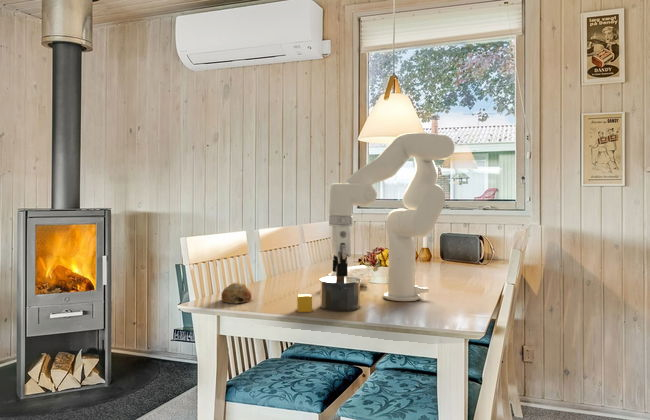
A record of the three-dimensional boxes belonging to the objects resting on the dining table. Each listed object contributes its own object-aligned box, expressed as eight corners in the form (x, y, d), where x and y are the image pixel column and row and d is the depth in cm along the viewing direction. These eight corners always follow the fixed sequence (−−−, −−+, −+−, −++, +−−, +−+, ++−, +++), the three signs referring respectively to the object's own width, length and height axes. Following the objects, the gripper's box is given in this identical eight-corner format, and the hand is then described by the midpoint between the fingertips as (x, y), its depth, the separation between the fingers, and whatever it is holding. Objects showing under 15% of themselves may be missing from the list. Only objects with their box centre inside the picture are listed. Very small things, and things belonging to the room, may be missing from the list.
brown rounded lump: (224, 314, 174) (227, 294, 171) (216, 296, 182) (219, 277, 179) (252, 311, 178) (256, 292, 175) (244, 293, 186) (247, 275, 183)
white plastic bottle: (320, 288, 203) (320, 268, 203) (358, 283, 214) (358, 264, 214) (332, 291, 197) (332, 270, 197) (371, 286, 208) (371, 266, 207)
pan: (353, 300, 180) (353, 276, 180) (364, 312, 162) (364, 285, 162) (318, 301, 178) (318, 276, 178) (324, 313, 161) (324, 286, 161)
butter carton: (310, 309, 167) (310, 294, 167) (312, 311, 163) (312, 296, 163) (297, 309, 166) (297, 294, 166) (298, 312, 163) (298, 296, 163)
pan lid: (356, 279, 178) (356, 262, 178) (364, 286, 164) (364, 268, 164) (317, 279, 176) (317, 263, 176) (322, 286, 163) (322, 269, 162)
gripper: (357, 222, 161) (356, 278, 162) (347, 220, 179) (346, 270, 179) (333, 222, 160) (332, 278, 161) (325, 219, 178) (324, 270, 178)
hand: (339, 273), depth 170 cm, fingers open, 9 cm apart
